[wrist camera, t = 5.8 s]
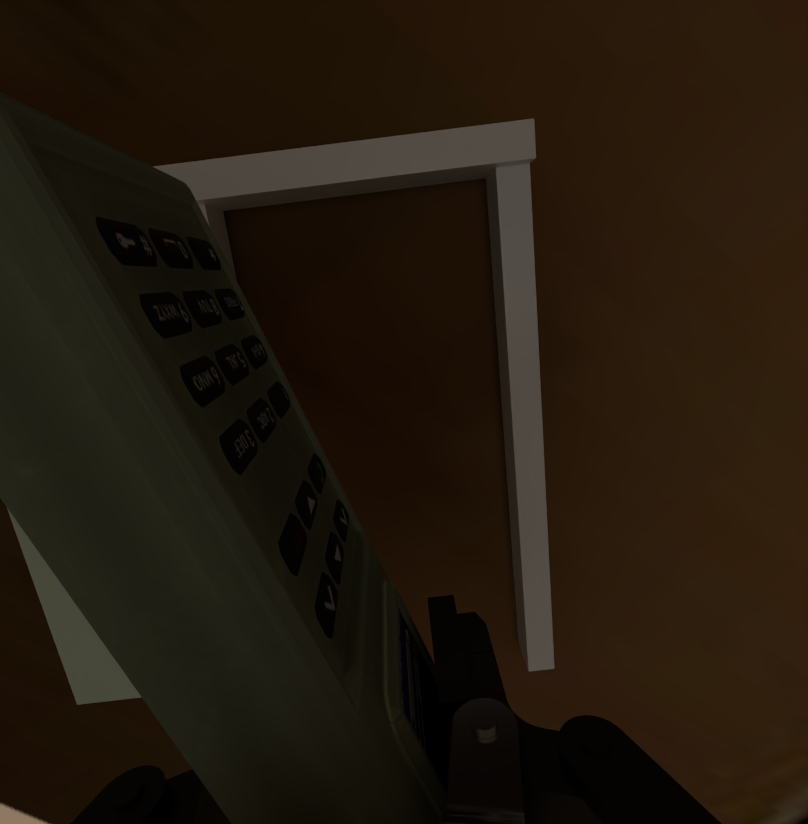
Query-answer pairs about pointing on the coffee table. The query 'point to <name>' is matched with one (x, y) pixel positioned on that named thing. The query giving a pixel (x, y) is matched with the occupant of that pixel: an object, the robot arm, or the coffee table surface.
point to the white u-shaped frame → (512, 282)
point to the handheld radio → (197, 497)
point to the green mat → (75, 636)
